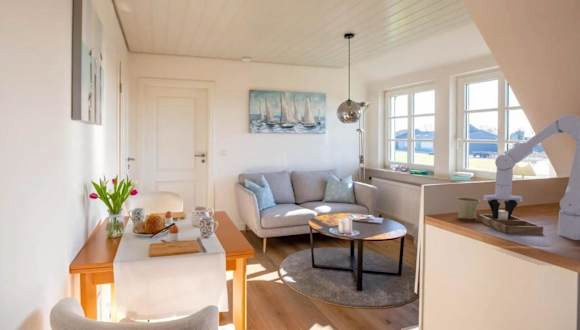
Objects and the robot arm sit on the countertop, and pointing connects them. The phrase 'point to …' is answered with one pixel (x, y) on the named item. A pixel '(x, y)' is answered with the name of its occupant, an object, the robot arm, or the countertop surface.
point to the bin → (511, 225)
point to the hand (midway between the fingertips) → (501, 218)
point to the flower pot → (467, 207)
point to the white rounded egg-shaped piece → (502, 215)
